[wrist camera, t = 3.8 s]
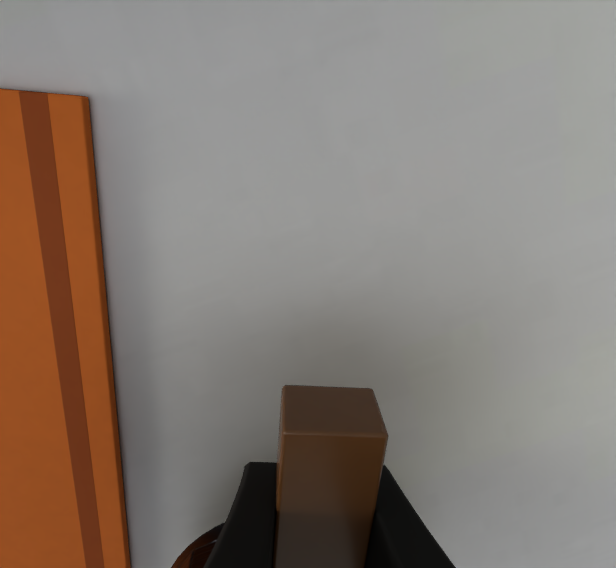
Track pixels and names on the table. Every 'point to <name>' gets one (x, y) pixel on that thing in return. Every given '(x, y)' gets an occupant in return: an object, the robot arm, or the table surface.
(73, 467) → the orange flat board
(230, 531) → the robot arm
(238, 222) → the table surface
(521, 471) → the table surface
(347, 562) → the pan
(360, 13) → the table surface
